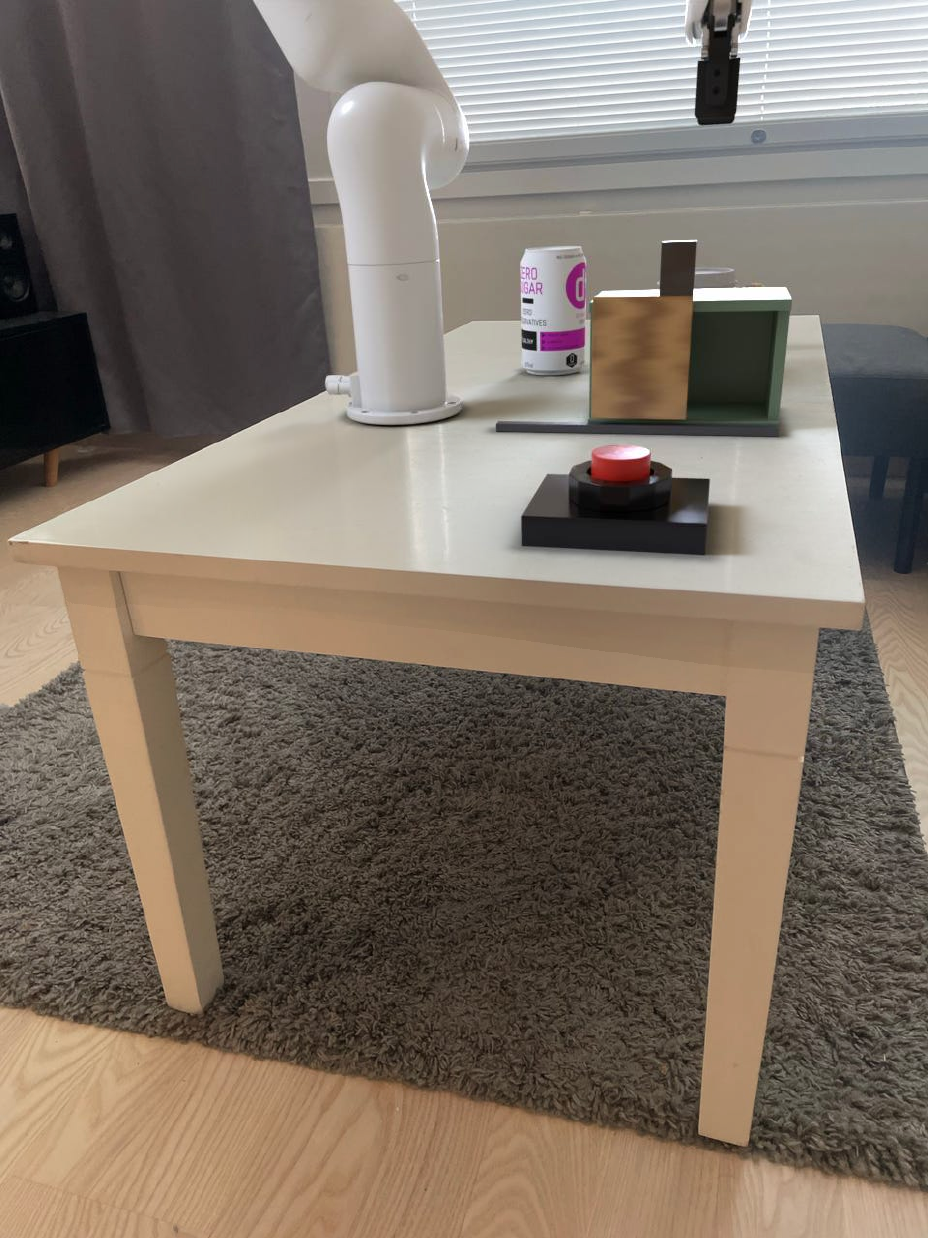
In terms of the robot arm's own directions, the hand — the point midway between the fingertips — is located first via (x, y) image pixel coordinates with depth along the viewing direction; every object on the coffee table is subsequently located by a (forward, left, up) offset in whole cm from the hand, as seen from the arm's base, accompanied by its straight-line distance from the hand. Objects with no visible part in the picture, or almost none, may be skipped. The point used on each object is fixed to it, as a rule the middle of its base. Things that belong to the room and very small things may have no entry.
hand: (715, 121), depth 77 cm
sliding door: (-5, -1, -25) cm, 25 cm away
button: (-4, -28, -23) cm, 36 cm away
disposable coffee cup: (-1, +31, -27) cm, 41 cm away
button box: (-4, -28, -26) cm, 39 cm away
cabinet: (-6, +4, -26) cm, 27 cm away
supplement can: (-19, +32, -27) cm, 46 cm away
